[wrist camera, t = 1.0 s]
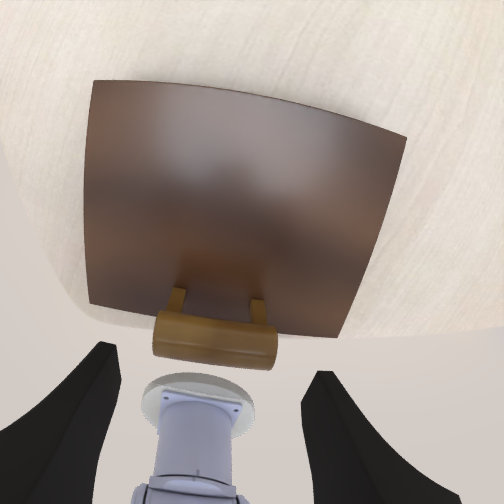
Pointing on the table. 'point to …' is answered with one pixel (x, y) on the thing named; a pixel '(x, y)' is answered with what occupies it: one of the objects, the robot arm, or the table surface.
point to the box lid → (230, 215)
